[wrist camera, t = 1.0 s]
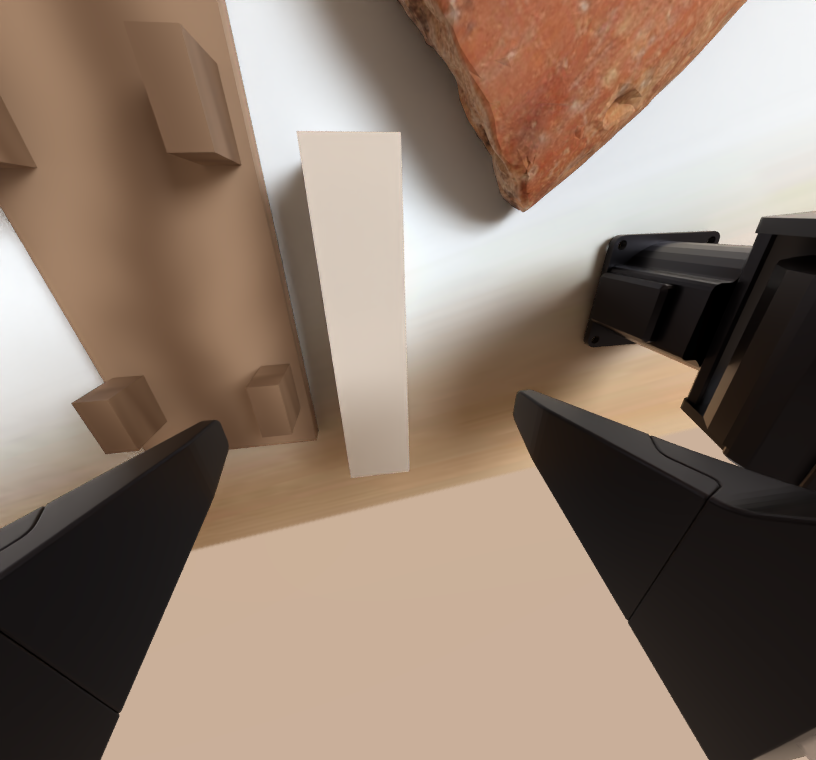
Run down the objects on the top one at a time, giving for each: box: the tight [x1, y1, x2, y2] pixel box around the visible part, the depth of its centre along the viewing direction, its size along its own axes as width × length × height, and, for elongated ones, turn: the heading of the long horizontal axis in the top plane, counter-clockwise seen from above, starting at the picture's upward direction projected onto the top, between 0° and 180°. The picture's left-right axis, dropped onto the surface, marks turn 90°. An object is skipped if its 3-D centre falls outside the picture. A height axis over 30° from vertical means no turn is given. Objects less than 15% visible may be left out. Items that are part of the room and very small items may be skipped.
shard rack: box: [0, 0, 319, 454], centre depth 13 cm, size 10×20×4 cm, turn 2°
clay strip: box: [297, 131, 410, 478], centre depth 16 cm, size 4×16×4 cm, turn 1°
